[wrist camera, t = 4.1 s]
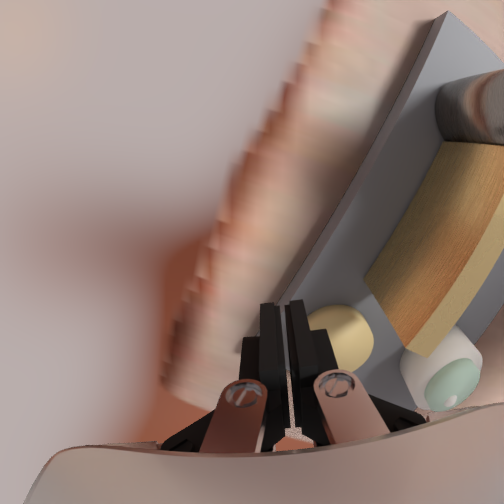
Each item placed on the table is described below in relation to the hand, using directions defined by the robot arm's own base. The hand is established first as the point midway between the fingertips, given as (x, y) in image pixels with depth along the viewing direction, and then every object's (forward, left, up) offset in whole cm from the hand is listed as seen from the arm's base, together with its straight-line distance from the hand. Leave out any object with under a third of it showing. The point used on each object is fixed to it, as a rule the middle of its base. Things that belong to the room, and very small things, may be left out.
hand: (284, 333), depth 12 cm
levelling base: (-7, +10, -9) cm, 15 cm away
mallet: (-14, +6, -7) cm, 17 cm away
